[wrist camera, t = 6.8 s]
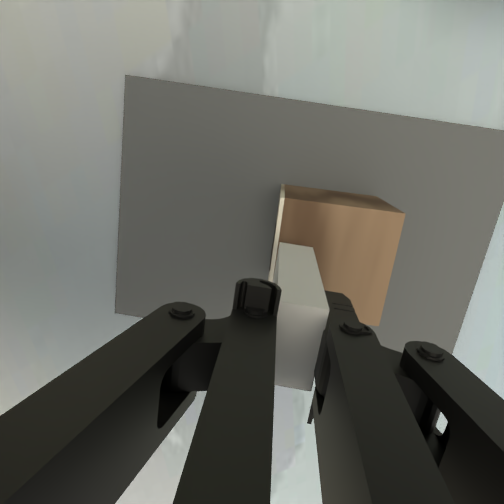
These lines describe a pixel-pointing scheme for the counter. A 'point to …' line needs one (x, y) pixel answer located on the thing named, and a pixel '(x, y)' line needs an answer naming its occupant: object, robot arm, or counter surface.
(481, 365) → the counter surface
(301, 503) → the counter surface
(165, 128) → the rubber mat
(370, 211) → the walnut cube
